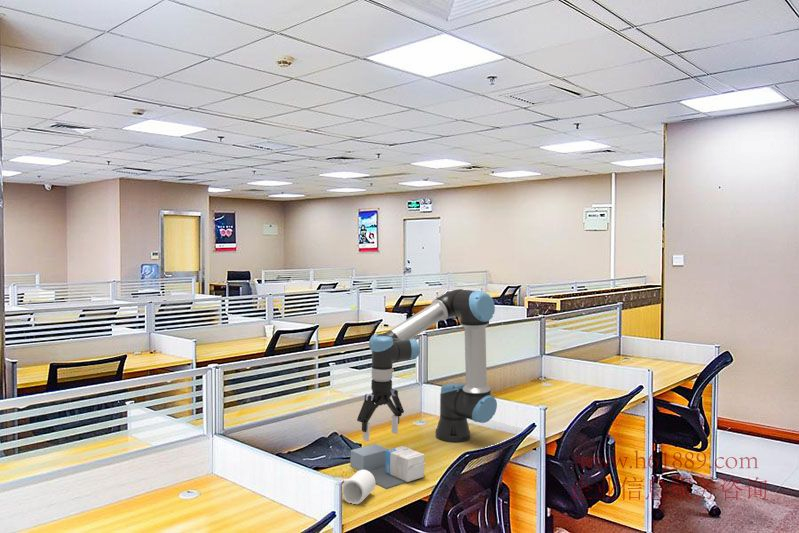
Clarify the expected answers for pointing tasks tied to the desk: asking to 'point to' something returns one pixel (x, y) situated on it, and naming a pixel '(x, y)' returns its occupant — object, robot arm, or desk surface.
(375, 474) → the mat
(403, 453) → the ink box
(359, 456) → the step
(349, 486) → the mug
